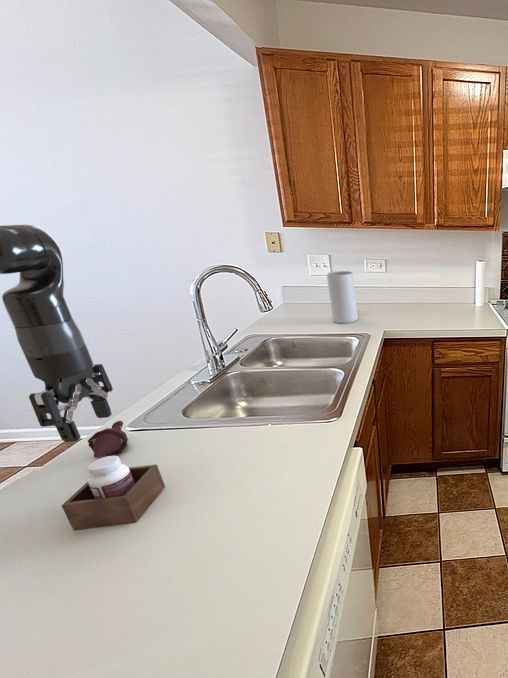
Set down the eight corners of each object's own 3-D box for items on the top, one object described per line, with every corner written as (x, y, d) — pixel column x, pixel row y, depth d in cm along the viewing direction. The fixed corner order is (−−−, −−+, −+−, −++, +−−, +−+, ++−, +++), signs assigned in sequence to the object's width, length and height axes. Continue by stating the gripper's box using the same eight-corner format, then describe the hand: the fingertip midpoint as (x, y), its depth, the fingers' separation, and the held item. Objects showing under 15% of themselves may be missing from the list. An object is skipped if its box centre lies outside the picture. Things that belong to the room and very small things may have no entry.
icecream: (116, 442, 92) (139, 417, 105) (73, 442, 88) (102, 417, 102) (116, 469, 93) (138, 441, 106) (73, 470, 90) (102, 442, 103)
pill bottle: (147, 494, 85) (131, 451, 81) (132, 515, 79) (113, 469, 75) (113, 499, 83) (94, 455, 79) (95, 520, 78) (73, 474, 74)
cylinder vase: (353, 316, 218) (347, 270, 209) (361, 321, 209) (355, 273, 200) (330, 319, 212) (323, 272, 203) (337, 325, 202) (330, 276, 193)
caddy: (73, 530, 75) (61, 505, 73) (109, 493, 85) (100, 470, 83) (136, 522, 77) (126, 497, 75) (165, 486, 87) (157, 464, 85)
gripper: (61, 336, 74) (92, 412, 80) (-10, 364, 61) (34, 452, 67) (107, 333, 75) (135, 408, 81) (47, 360, 62) (85, 447, 68)
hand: (89, 428), depth 74 cm, fingers open, 8 cm apart
